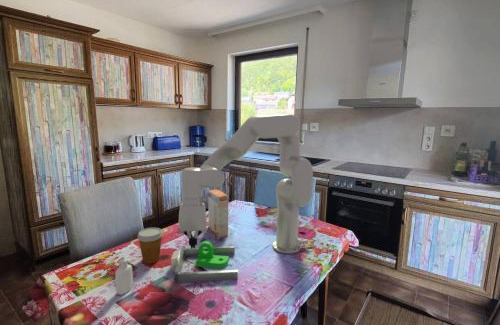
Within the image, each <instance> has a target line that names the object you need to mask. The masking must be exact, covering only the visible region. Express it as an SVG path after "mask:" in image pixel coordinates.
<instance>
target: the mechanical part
mask: <svg viewBox="0 0 500 325" xmlns="http://www.w3.org/2000/svg"><path fill="white" fill-rule="evenodd" d="M203 247H207V248H208V250H209V251H205V250H204V249H203ZM213 247H214V245H213V244H212V242H210V241H208V240H204V241H202V242H201V243H200V244H199V247H198V248H199V256H197V259H196V261H195V267H200V268H201V267H202V268H216V269H218V268H219V269H221V268H225V267H227V265H228V263H229V261H230V256H228V255H214V254H213Z"/></svg>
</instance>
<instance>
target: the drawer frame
mask: <svg viewBox="0 0 500 325" xmlns="http://www.w3.org/2000/svg"><path fill="white" fill-rule="evenodd" d="M235 248H236V247H235V246H234V245H233V246H232V245H231V246H213V254H214V255H218V256H226V255H235ZM203 249H204V250H205V251H209V250H208V248H207V247H203ZM185 257H199V247H195V248H192V249H191V247H186V245H182V246H181V249H180V251H173V253H172V256H171V258H170V260H171V261H170V264H171V266H170V267H171V269H170V270H171V272H172V273H174V283H175V284H178V283H179V284H180V283H197V282H198V283H200V282H213V281H214V282H215V281H216V282H217V281H233V280H234V281H235V280H238V279H239V272H238V271H239V270H238V269H229V270H210V271H192V272H191V271H190V272H189V271H188V272H187V271H186V272H182V270H183V266H184V262H185Z"/></svg>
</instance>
